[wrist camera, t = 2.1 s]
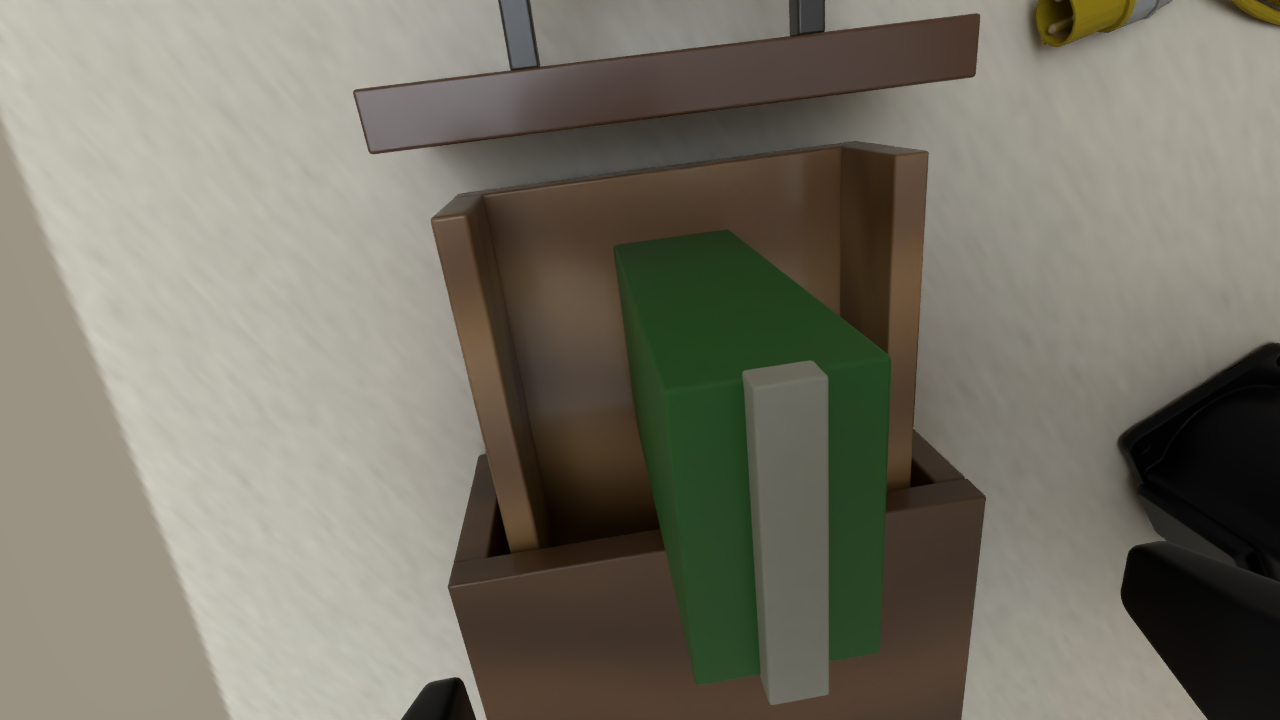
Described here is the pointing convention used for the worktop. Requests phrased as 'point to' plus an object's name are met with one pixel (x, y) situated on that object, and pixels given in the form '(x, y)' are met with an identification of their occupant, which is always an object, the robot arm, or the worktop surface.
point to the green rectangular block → (758, 459)
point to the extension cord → (1113, 16)
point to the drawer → (655, 209)
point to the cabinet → (652, 629)
